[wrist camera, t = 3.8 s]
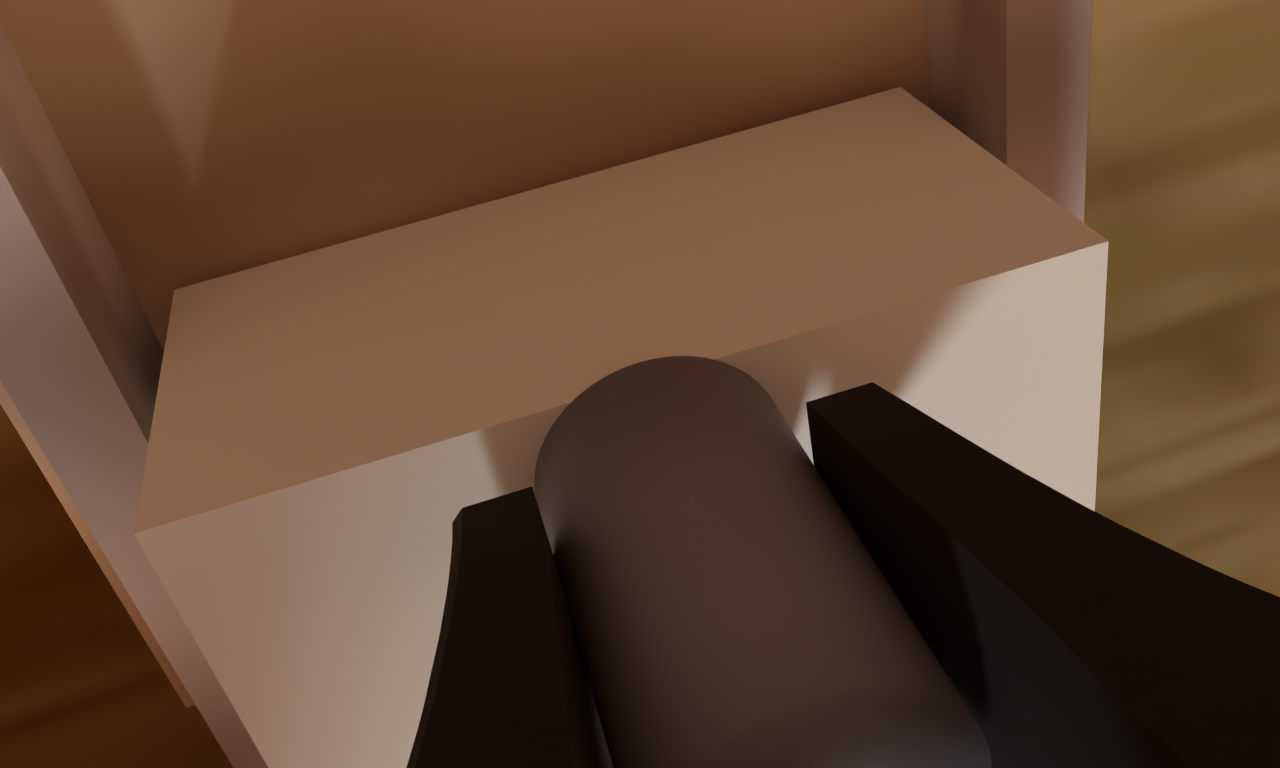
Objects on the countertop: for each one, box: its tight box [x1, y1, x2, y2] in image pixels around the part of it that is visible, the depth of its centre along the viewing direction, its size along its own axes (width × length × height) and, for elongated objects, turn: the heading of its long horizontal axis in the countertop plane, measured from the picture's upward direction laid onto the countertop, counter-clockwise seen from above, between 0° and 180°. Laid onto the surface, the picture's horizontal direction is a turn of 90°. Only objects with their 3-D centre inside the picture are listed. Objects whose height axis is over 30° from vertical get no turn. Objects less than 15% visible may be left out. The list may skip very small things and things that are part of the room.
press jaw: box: [134, 87, 1108, 768], centre depth 12 cm, size 6×9×8 cm, turn 100°
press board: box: [0, 0, 1092, 768], centre depth 14 cm, size 13×14×3 cm
